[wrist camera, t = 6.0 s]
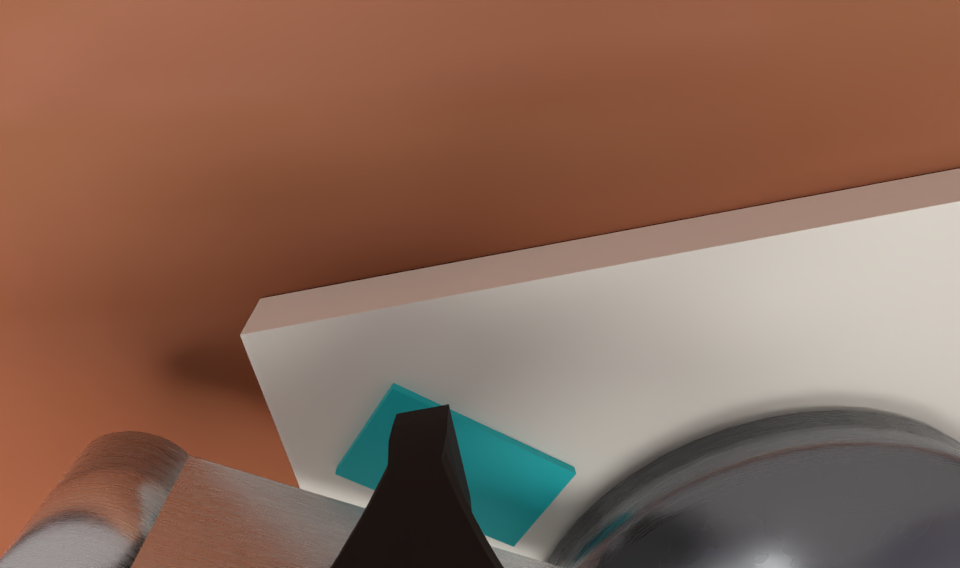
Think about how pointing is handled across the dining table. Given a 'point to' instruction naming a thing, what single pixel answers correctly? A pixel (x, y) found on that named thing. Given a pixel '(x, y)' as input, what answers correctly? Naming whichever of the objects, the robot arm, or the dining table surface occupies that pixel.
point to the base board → (622, 348)
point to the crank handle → (589, 542)
